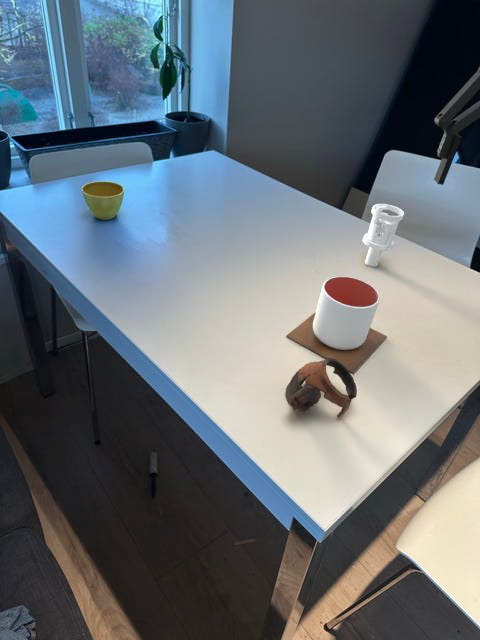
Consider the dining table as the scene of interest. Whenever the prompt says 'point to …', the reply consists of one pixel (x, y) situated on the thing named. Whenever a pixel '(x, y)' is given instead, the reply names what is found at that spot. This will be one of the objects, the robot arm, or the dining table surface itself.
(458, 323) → the dining table surface
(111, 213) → the flower pot
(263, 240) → the dining table surface
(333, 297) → the cup
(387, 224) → the white openwork cylinder
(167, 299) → the dining table surface
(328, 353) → the coaster
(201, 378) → the dining table surface
